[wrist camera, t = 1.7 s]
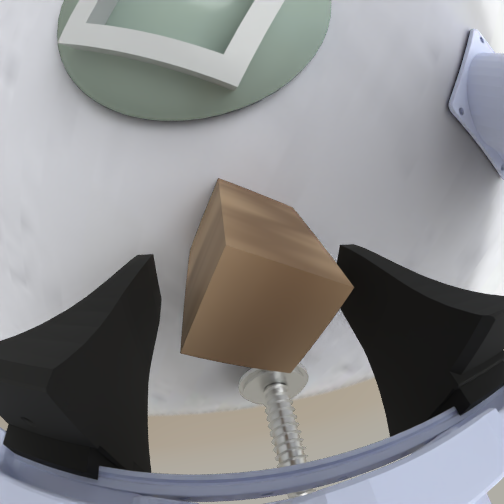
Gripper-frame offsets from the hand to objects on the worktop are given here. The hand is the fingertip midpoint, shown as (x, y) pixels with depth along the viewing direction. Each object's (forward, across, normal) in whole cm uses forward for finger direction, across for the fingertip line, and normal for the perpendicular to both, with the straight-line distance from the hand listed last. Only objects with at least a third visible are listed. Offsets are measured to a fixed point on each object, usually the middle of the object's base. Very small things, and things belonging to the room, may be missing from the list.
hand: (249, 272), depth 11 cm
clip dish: (+4, +2, -12) cm, 13 cm away
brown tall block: (+4, 0, 0) cm, 4 cm away
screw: (+4, -2, +11) cm, 12 cm away
